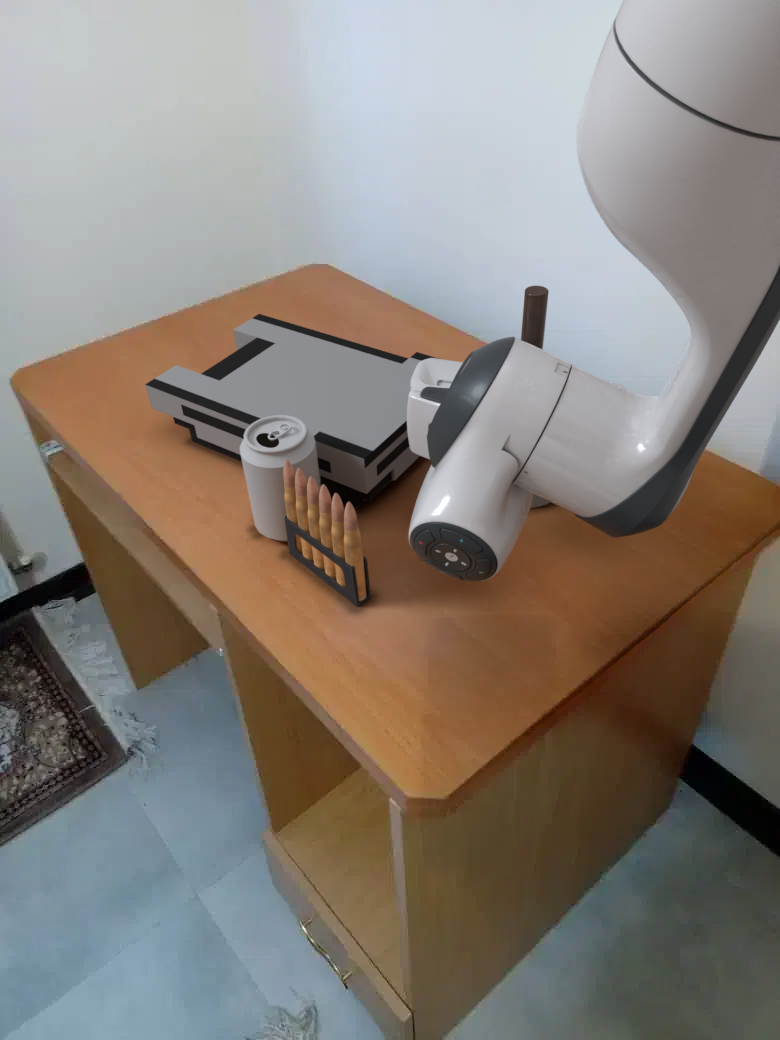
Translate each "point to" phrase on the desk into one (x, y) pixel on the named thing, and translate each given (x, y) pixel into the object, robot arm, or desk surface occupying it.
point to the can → (275, 467)
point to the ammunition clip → (325, 535)
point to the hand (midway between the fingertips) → (531, 361)
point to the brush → (534, 315)
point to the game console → (302, 401)
